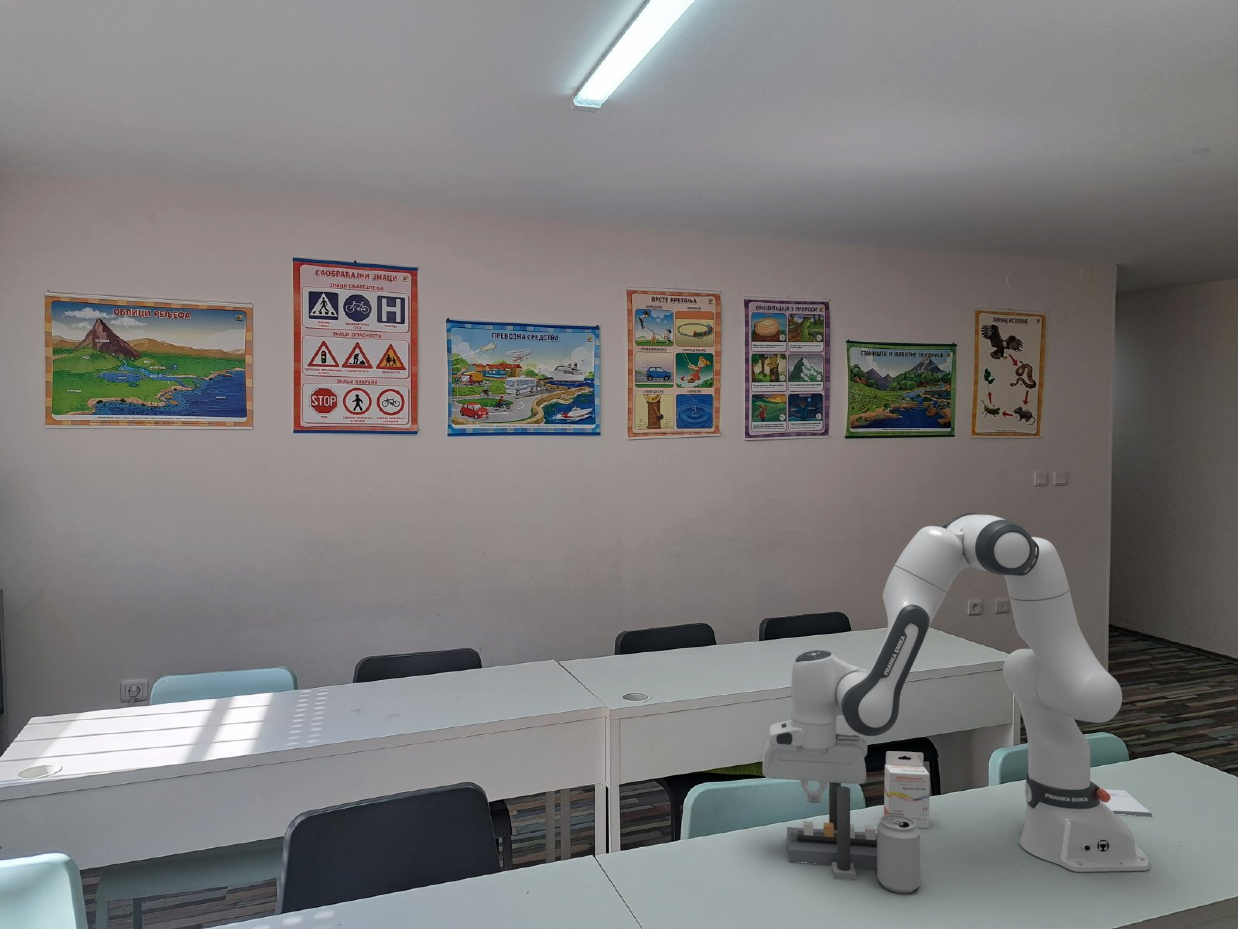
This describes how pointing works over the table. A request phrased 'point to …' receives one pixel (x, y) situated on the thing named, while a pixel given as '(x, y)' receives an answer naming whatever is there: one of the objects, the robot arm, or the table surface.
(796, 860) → the breaker panel
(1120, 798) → the external hard drive
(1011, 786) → the table surface
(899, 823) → the can
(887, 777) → the ink cartridge box
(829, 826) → the breaker paddles
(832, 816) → the disc
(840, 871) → the post
